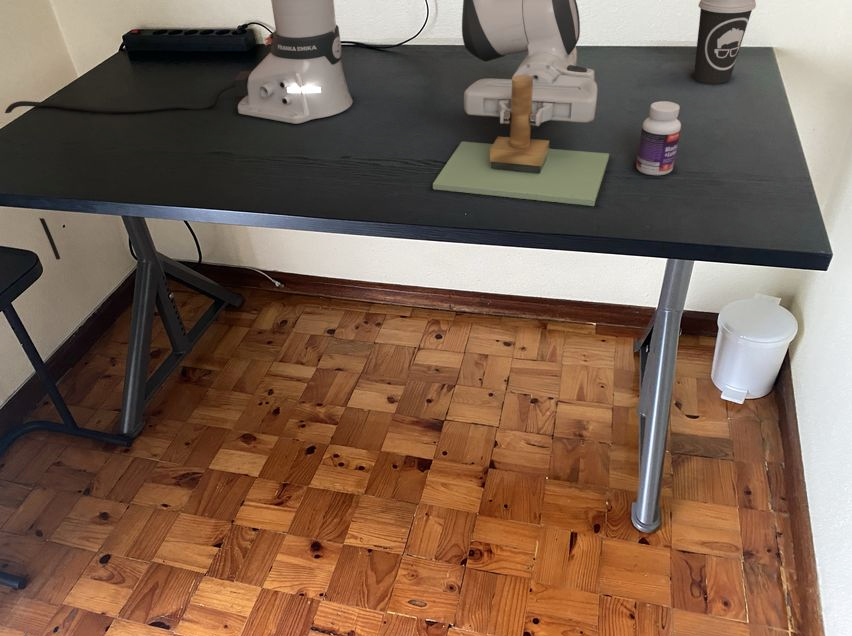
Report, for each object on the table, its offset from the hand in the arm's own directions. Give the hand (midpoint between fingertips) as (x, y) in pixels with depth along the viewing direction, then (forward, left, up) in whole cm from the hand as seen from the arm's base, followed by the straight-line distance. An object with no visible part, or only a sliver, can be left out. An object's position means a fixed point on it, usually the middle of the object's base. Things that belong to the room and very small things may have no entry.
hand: (519, 119), depth 107 cm
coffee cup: (+27, +48, -9) cm, 56 cm away
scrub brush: (0, +1, -7) cm, 8 cm away
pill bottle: (+20, +6, -9) cm, 23 cm away
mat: (+1, 0, -9) cm, 9 cm away
